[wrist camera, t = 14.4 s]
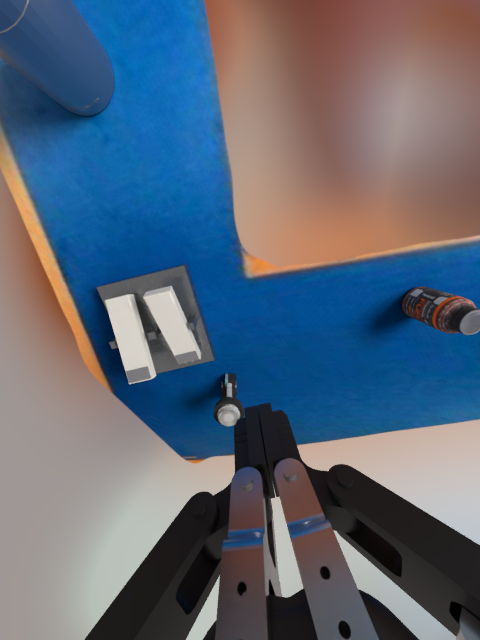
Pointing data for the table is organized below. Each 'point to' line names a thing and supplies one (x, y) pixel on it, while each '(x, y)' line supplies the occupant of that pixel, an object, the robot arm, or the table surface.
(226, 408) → the push button
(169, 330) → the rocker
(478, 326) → the supplement bottle
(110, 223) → the table surface
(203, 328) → the switch unit
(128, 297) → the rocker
